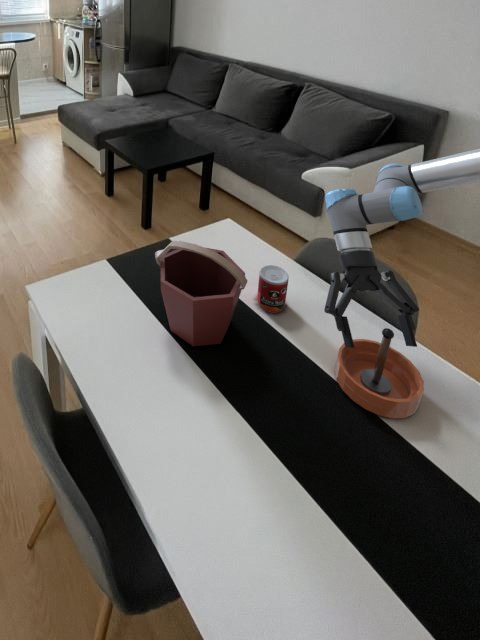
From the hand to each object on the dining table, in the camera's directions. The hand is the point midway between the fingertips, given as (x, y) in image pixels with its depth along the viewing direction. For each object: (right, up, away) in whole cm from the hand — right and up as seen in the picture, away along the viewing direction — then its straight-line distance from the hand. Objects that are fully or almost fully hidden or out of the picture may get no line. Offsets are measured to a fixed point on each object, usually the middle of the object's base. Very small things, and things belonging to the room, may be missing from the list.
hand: (380, 346), depth 97 cm
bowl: (+1, -11, +3) cm, 12 cm away
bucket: (-35, -5, +25) cm, 43 cm away
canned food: (-12, -2, +29) cm, 32 cm away
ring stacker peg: (+1, -10, +3) cm, 11 cm away
